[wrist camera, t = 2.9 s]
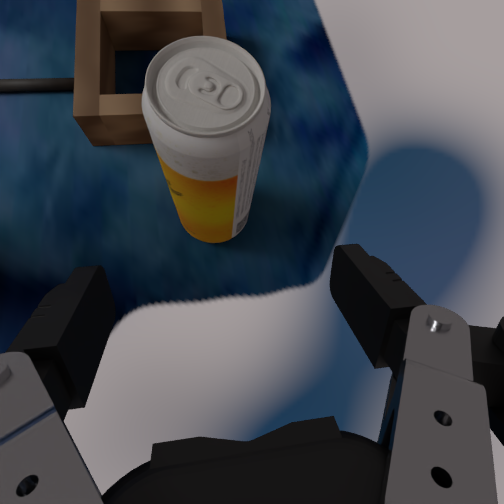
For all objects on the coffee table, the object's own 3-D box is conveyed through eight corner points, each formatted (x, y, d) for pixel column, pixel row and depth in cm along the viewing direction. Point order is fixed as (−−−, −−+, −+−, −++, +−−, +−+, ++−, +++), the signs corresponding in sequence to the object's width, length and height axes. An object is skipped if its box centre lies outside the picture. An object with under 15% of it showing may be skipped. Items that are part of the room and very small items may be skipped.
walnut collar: (-33, 151, 27) (-74, 121, 24) (-18, 35, 31) (-52, -8, 27) (233, 139, 30) (235, 110, 26) (221, 34, 34) (221, -5, 30)
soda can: (200, 172, 29) (178, 9, 15) (258, 200, 29) (295, 63, 14) (167, 226, 27) (107, 103, 13) (229, 257, 27) (238, 166, 13)
